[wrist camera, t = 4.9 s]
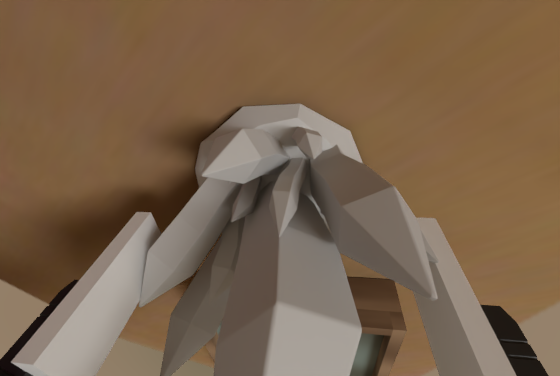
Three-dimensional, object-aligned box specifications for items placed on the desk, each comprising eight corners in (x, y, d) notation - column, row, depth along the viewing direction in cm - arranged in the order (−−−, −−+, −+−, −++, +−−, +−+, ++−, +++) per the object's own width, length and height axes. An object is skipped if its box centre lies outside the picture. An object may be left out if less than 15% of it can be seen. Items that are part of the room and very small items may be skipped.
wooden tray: (206, 268, 22) (187, 312, 19) (393, 279, 19) (406, 330, 16) (241, 361, 32) (233, 398, 29) (367, 375, 30) (372, 417, 27)
